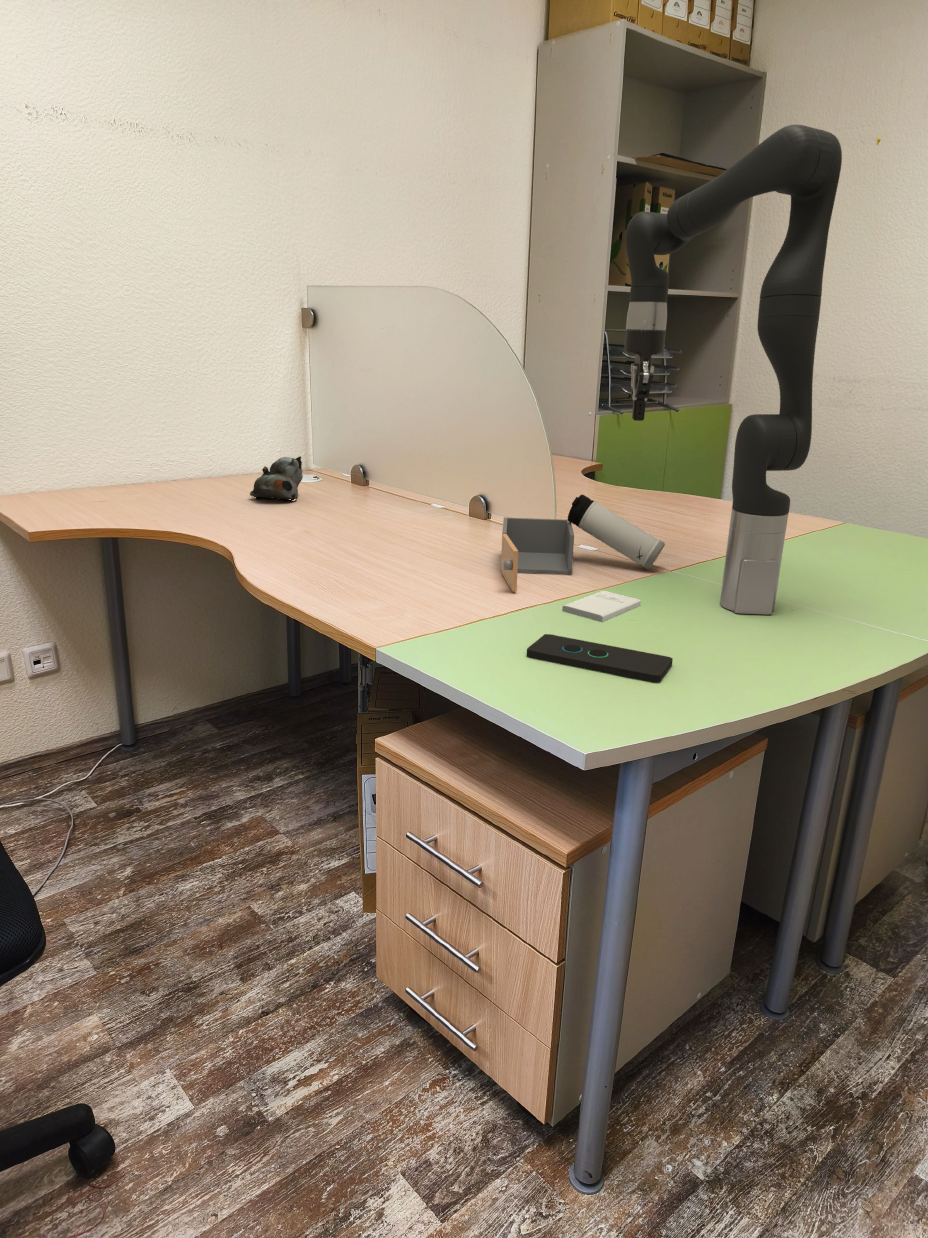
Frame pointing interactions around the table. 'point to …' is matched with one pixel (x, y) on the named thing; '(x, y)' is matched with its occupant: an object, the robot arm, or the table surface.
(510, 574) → the side door
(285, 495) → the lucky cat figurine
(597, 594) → the external hard drive
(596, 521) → the travel mug
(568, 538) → the storage box
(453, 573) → the table surface
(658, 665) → the smart home device
